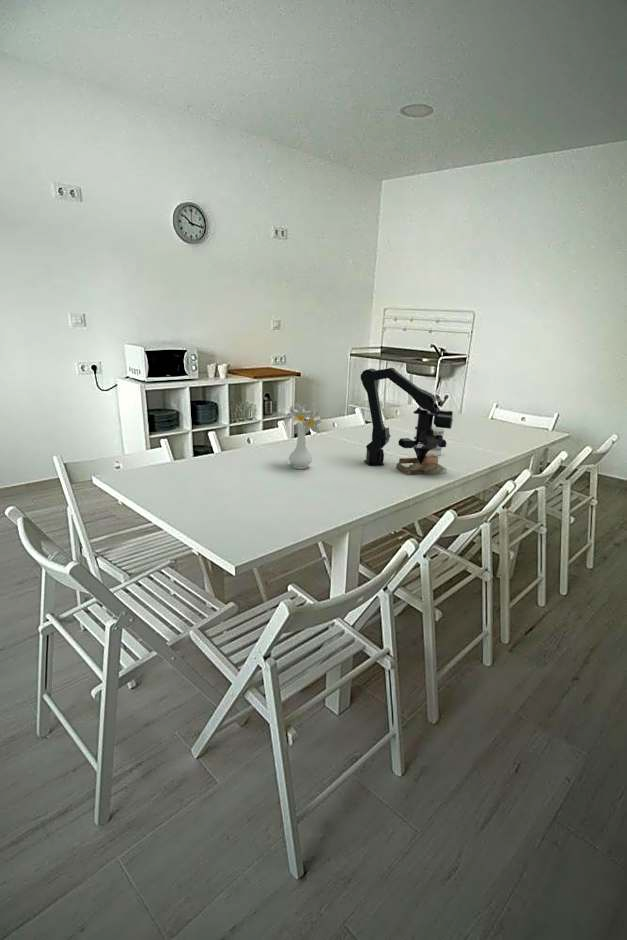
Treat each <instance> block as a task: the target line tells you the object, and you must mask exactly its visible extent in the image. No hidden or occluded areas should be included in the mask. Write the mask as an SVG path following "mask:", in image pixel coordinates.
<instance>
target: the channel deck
mask: <svg viewBox="0 0 627 940" xmlns="http://www.w3.org/2000/svg"><path fill="white" fill-rule="evenodd" d="M403 464H409V466H405V465H403ZM396 469H397V470H399V471H401V472H402V473H404V474H405V475H406V476H411V475H421V474H422V475H437V474H442V475H443V474H447V473H448V468H447V467H445V466H443V465H441V464H439V463H438V464H420V463H419V462H418V459H417V457H402V458H400V457H399V459H398V462H397V463H396Z"/></svg>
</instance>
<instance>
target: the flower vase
mask: <svg viewBox="0 0 627 940" xmlns="http://www.w3.org/2000/svg"><path fill="white" fill-rule="evenodd" d="M307 409H309V405H308V404H304V405H303V406H301V404H300V403H299V402H296V403H295V408H294V406H293V405H292V404H291V405H290V408H289V412H288V413H287V414H286V415H285V418H286V420H285V421H284V423H287V422H288V421H289V420H291V419H292V418H293V420H292V422H291V424H292V425H293V426H296V425H297V442H296V446H295V448H294V450H293V451H292V452H291V453H290V454H289V457H288V460H289V463H290V464H291V465H292V467H293V468H294V469H297V470H298V469H299V470H304V469H308V468H309V465H311V463H312V462H313V456H312V455H311V453H310V452H309V451H308V449H307V446H306V434H308V433H309V432H310V430H311V431H312V432H313V433H317V432H318V428H317V425H318V426H319V427H320V426H321V425H320V423H321V422H322V420H321V416H320V414H319V411H318V410H317V409H316V407H315V406H314V405H312V407H311V409H309V410H307Z"/></svg>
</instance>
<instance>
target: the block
mask: <svg viewBox="0 0 627 940" xmlns="http://www.w3.org/2000/svg"><path fill="white" fill-rule="evenodd" d="M421 464H439V457H438V456H435V455H433V454H426V456H425V458H424V459H423V461H422V463H421Z"/></svg>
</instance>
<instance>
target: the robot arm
mask: <svg viewBox="0 0 627 940" xmlns="http://www.w3.org/2000/svg"><path fill="white" fill-rule="evenodd" d="M386 379H388V380H390V381H391V382H393V383H394V384H395V385H396V386H398V387H399V388H400V389H402V390H403V391H404V392H406V393H407V394H408V395H409V396H411V397H412V399H413V400H414V402H415V403H416V404H417V405H418V406H419V407H417V408H416V410H414V411H413V414H417V415H418V416H417V425H416V426H415V428H414V429H415V430H416V433H415V436H413V439H414V440H412V439H410V438H409V437H406V438H405V437H404V438H403V437H401V438H399V440H398V443H397V444H398V446H400V447H402V448H403V449H413V450H414V452H415V455H416V458H417V459H418V462H419V463H420V464H421V463H422V461H423V459H424V458H425V456H426V454H427V452H428V451H430V450H431V449H433V448H436V447H437V445H438V446H439V447H442V448H446V447H447V440H446V439H444V436H443V437H442V436H441V435H437V436H436V435H434V434H433V429H432V422H433V420H434V424H435V425H436V427H440V428H444V429H447V430H448V429H449V430H451V429H452V426H453V421H454V419H453V416H454V415H453V414H454V413H453V412H454V411H451V410H442V409H440V407H439V406H438V404H437V403H436V402H437V399H436V398H437V397H436V396H435V395H434V394H433V393H431V392H429V391H427V390H425V389H422V388H420V387H418V386H417V385H415V383H413V382H412V381H410V380H409V379H408V378H407V377H405V376H404V375H402V374H401V373H400V372H398V371H397V370H396V369H395V368H394V367H388V368H383V369H378V370H377V369H375V368H368V369H364V370H363V371H362V372H361V374H360V380H361V384H362V386H363V389H364V390H365V392H366V394H367V399H368V406H369V411H370V412H369V413H370V416H371V424H372V430H371V431H372V432H371V441H370V442H369V443H367V445H366V446H365V447H366V456H365V460H364V461H363V462H364V463H366V464H367V465H369V466H384V465H385V463H384V460H385V459H384V458H385V453H384V449H383V448H384V447H385V446H387V444H388V443H389V442H390V438H391V435H390V427H389V426H388V427H386V426H385V424H384V421H383V420H384V419H383V413H382V409H381V402H380V397H379V392H378V391H379V381H381V380H386ZM442 438H443V439H442Z"/></svg>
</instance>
